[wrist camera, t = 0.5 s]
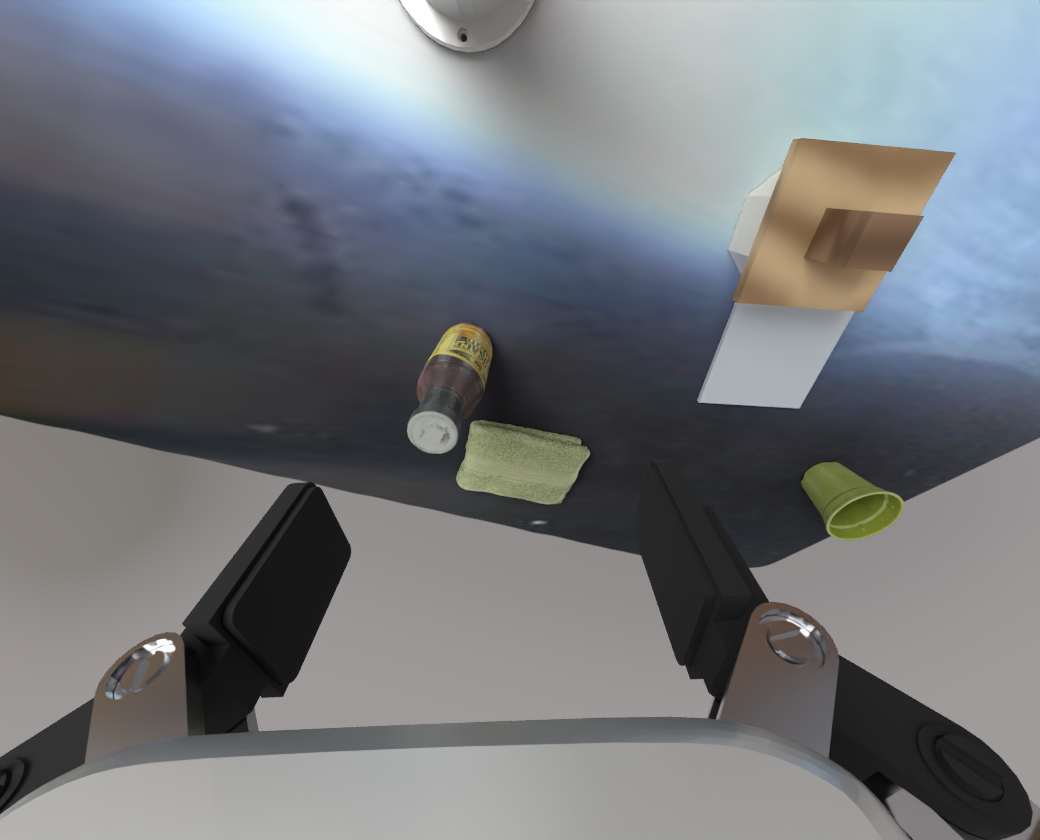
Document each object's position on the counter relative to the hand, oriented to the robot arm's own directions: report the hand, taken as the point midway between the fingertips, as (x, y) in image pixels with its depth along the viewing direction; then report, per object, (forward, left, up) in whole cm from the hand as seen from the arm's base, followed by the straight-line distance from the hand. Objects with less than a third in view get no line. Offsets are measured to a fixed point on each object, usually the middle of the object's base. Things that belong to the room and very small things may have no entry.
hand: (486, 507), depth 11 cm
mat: (+8, +33, -35) cm, 49 cm away
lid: (-6, +29, -30) cm, 42 cm away
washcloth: (+27, +3, -36) cm, 45 cm away
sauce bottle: (+9, -5, -35) cm, 37 cm away
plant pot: (+27, +50, -35) cm, 67 cm away
